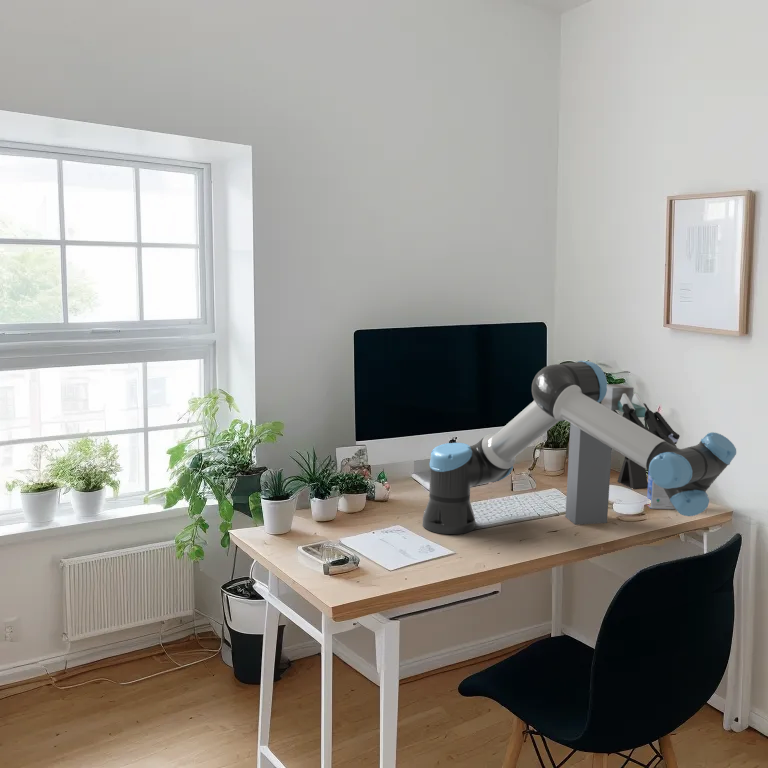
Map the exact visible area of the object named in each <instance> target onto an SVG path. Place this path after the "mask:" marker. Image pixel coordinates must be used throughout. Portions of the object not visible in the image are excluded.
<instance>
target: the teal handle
mask: <svg viewBox="0 0 768 768" xmlns="http://www.w3.org/2000/svg"><path fill="white" fill-rule="evenodd" d="M634 390H635V389H634V387H632V386H630V385H627V384H623V383H620V384H619V383H616V384H615V383H613V384H612V383H609V384H608V383H607V392H606V395H605V397H604V399H603V400H602V401H601V402H600V404H602V405H603V406H605V407H607V408H609V409H610V410H612V411H619V412H621V413H624V412H623V410H622V407H623V406H622V404H621V402H620V400H621V397H622V395H623V394H624V393H626V395H627V397H628V398H629V400H630V402H631V401H632V398H633V395H634ZM631 403H632V402H631ZM632 405H633V407H634V408H635V412H634V413H635V414H636V416H637V417H638V418H645V407H642V406H639V405H637V404H634V403H632Z"/></svg>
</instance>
